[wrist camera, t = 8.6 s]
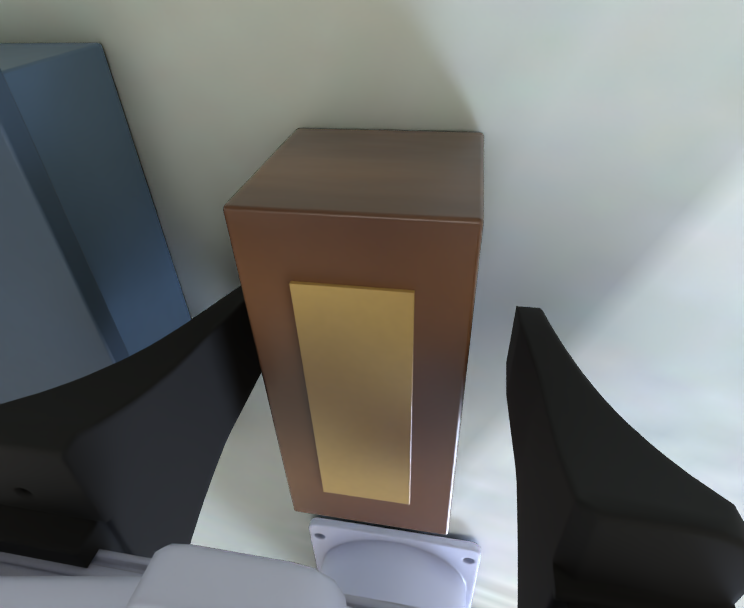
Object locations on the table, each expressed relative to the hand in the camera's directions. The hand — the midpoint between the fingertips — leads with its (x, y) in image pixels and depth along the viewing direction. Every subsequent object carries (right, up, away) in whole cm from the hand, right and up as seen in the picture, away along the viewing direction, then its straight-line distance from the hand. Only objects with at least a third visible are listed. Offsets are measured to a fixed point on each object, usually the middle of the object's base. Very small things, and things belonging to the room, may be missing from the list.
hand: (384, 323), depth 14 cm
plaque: (0, +1, +1) cm, 1 cm away
